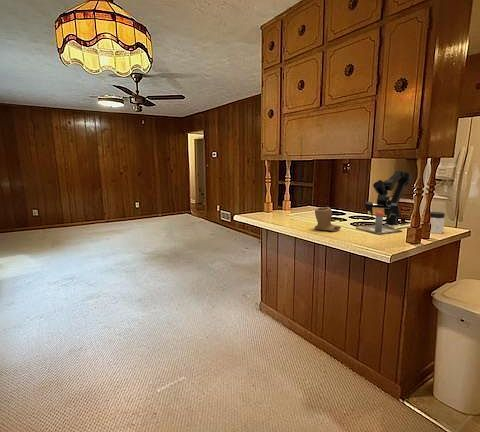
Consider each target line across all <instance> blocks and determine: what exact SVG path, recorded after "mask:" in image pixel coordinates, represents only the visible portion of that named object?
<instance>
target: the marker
mask: <svg viewBox="0 0 480 432" xmlns="http://www.w3.org/2000/svg"><path fill="white" fill-rule="evenodd" d="M383 220H384V210H383V211H382V210H376V211H375V221H374V225H375V232H382V225H383Z"/></svg>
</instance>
